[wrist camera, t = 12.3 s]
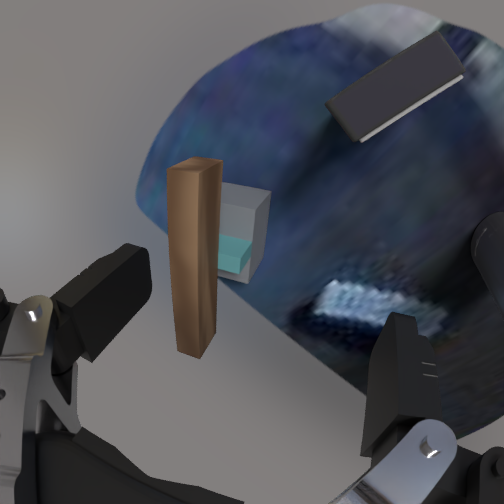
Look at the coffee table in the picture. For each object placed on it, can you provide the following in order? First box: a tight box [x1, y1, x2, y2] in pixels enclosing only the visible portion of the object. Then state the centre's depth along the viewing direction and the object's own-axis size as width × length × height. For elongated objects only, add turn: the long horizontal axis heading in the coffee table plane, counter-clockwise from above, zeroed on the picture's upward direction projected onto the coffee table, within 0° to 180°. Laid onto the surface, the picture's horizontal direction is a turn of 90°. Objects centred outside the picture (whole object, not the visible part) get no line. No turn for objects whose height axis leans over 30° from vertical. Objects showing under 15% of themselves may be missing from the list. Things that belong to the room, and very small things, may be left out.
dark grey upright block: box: [325, 31, 466, 143], centre depth 23 cm, size 11×4×15 cm, turn 131°
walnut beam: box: [167, 156, 223, 359], centre depth 32 cm, size 3×22×5 cm, turn 175°
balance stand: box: [218, 182, 271, 284], centre depth 38 cm, size 8×10×11 cm
